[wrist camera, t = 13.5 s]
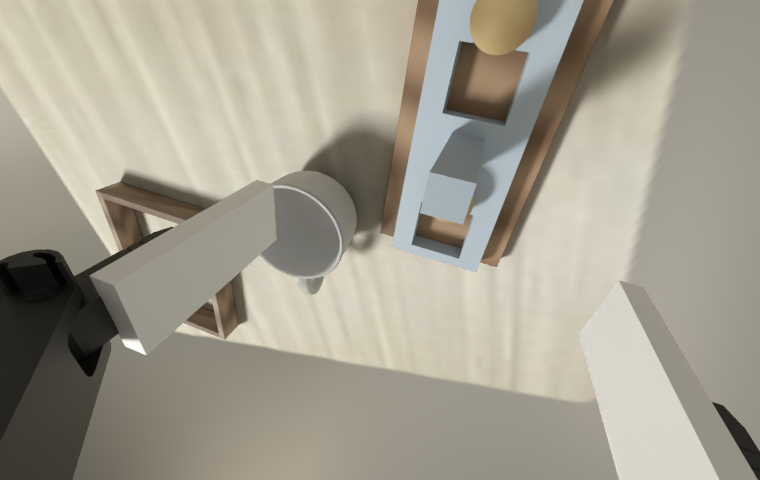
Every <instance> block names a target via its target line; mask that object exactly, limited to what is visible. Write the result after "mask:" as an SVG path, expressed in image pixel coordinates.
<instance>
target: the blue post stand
mask: <svg viewBox="0 0 760 480" xmlns="http://www.w3.org/2000/svg"><path fill="white" fill-rule="evenodd" d="M583 1H584V0H537V3H538V14H537V19H536V23H535V25H534V28H533V30H532V32H531V34H530V35H529V37H528V38H527V39H526V40H525V42H524V43H523V44H522V45H520V46H519V47H518V48H517V49H515V50H517V51H523V52H529V53H528V56H527V59H526V61H525V64H524V67H523V70H522V73H521V76H520V79H519V82H518V85H517V88H516V91H515V93H514V96H513V99H512V102H511V105H510V108H509V111H508V114H507V117H506V120H505V122H503V121H499V120H494V119H489V118H484V117H479V116H475V115H470V114H465V113H460V112H455V111H451V110H446V106H447V102H448V98H449V94H450V89H451V85H452V81H453V77H454V73H455V69H456V64H457V60H458V56H459V52H460V48H461V43H462V42H468V43H474V41H473V39H472V36H471V33H470V16H471V12H472V9H473V6H474V4H475V2H476V0H439V4H438V9H437V14H436V20H435V25H434V30H433V35H432V40H431V45H430V51H429V56H428V61H427V66H426V71H425V77H424V82H423V87H422V92H421V97H420V102H419V108H418V113H417V118H416V123H415V128H414V134H413V139H412V144H411V149H410V154H409V159H408V165H407V170H406V175H405V180H404V185H403V190H402V196H401V201H400V206H399V211H398V216H397V222H396V227H395V232H394V237H393V242H392V247H394V248H397V249H400V250H404V251H407V252H410V253H413V254H417V255H420V256H423V257H427V258H430V259H433V260H437V261H440V262H443V263H447V264H450V265H453V266H457V267H460V268H463V269H466V270H470V271H473V272H476V271H477V269H478V266H479V264H480V261H481V259H482V256H483V254H484V251H485V248H486V246H487V243H488V241H489V238H490V236H491V233H492V231H493V228H494V226H495V223H496V221H497V218H498V216H499V213H500V211H501V208H502V206H503V203H504V200H505V198H506V195H507V193H508V190H509V188H510V185H511V183H512V180H513V178H514V175H515V173H516V170H517V168H518V165H519V163H520V160H521V158H522V155H523V152H524V150H525V147H526V145H527V142H528V140H529V137H530V135H531V132H532V130H533V127H534V125H535V122H536V120H537V117H538V115H539V112H540V110H541V107H542V105H543V102H544V99H545V97H546V94H547V92H548V89H549V87H550V84H551V82H552V79H553V77H554V74H555V72H556V69H557V67H558V64H559V62H560V59H561V57H562V54H563V51H564V49H565V46H566V44H567V41H568V39H569V36H570V34H571V31H572V29H573V26H574V24H575V21H576V19H577V16H578V14H579V11H580V9H581V6H582V4H583ZM474 44H475V43H474ZM473 193H474V205H473V209H472V211H471V213H470V215H473V216H472V219H471V221H470V224H469V227H468V230H467V233H466V236H465V239H464V242H463V245H462V248H458V247H454V246H451V245H447V244H444V243H440V242H437V241H434V240H430V239H427V238H423V237H420V236H416V232H417V228H418V223H419V219H420V215H421V214H425V215H429V216H432V217H436V218H440V219H443V220H447V221H451V222H454V223H458V224H461V225H463V224H464V220H465V217H466V214H467V211H468V208H469V205H470V202H471V199H472V196H473Z"/></svg>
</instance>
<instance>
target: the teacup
mask: <svg viewBox="0 0 760 480" xmlns="http://www.w3.org/2000/svg"><path fill="white" fill-rule="evenodd" d="M271 184H273V190H274V206H275V222H276V237H277V240H276V241H274V242H273V243H272V244H271V245H270V246H269V247H268V248H267V249H265V250H264V251H263V252H262V253H261V254H260V255H259V256H260V257H261V258H262V259H263V260H264V261H265V262H267V263H268V264H269V265H270V266H272V267H273V268H275V269H276V270H278V271H280V272H282V273H284V274H287V275H290V276H292V277H296V278H298V288H299V290H300V292H301V293H303V294H306V295H313V294H315V293H317V292H318V290H319V289H320V287H321V285H322V282H323V278H324V275H326V274H328V273H330V272H331V271H332V270H334V269H335V267H336V266H337V265H338V263H339V262H340V260H341V257H342V255H343V254H344V252H345V251H346V249H347V247H348V246H349V244H350V242H351V240H352V238H353V236H354V233H355V230H356V225H357V214H356V209H355V206H354V203H353V201H352V199H351V197H350V195H349V193H348V192H347V191H346V190H345V188H344V187H343V186H342V185H341V184H340V183H338V182H337V181H336V180H334V179H333V178H331V177H330V176H327V175H325V174H323V173H320V172H315V171H298V172H294V173H291V174H288V175H286V176H284V177H282V178H280V179H278V180H277V181H275V182H273V183H271Z"/></svg>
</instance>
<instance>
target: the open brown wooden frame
mask: <svg viewBox="0 0 760 480" xmlns="http://www.w3.org/2000/svg"><path fill="white" fill-rule="evenodd" d="M96 193H97V196H98V198H99V201H100V203H101V206H102V208H103V211H104V213H105V216H106V219H107V221H108V224H109V226H110V229H111V231H112V234H113V236H114V239H115V241H116V244H117V246H118V249H119V251H121V250H123V249H124V250H126V249H127V247H129V246H130V245H132V244H134V243H138V242H139V240H141V239H143V236H142V233H141V230H140V227H139V224H138V221H137V218H136V216H135V213H134V210H133V209H136V210H139V211H142V212H145V213H148V214H151V215H154V216H157V217H160V218H163V219H166V220H169V221H172V222H175V223H178V224H181V223H182V222H184V221H186V220H188V219H189V218H191V217H193V216H195V215H196V214H198V213H200V212H202V211H203V210H205V209H203V208H200V207H197V206H194V205H190V204H187V203H184V202H181V201H178V200H175V199H171V198H168V197H165V196H162V195H159V194H155V193H152V192H149V191H146V190H143V189H140V188H136V187H133V186H130V185H127V184H124V183H121V182H119V183H116V184H113V185H110V186H107V187H105V188H102V189H99V190H96ZM211 299H212V304H213V309H214V312H213V311H210V310H208V309H205V308H203V307H200V308H199V309H198V310H197V311H196V312H195V313H194V314H192V315H191V316H190V317H189V318H188V319H187V320H186V321H185V322H183V323H185V324H188V325H190V326H193V327H195V328H198V329H200V330H203V331H205V332H208V333H210V334H213V335H215V336H218V337H220V338H223V339H226V338H227V336H228V335H229V334H230V333H231V332H232V331H233V330H234V329H235V328H236V327H237V326H238V319H237V312H236V306H235V300H234V294H233V288H232V282H231V281H229V282H228V283H227V284H226V285H225V286H224V287H223V288H222V289H220V290H219V291H218V292H217V293H216V294H215V295H214V296H213V297H211Z"/></svg>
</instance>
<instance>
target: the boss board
mask: <svg viewBox="0 0 760 480" xmlns="http://www.w3.org/2000/svg"><path fill="white" fill-rule="evenodd" d="M612 3H613V0H584V1H583V4H582V6H581V9H580V11H579V14H578V16H577V19H576V21H575V24H574V26H573V29H572V31H571V34H570V36H569V39H568V41H567V44H566V46H565V49H564V51H563V54H562V57H561V59H560V62H559V64H558V67H557V69H556V72H555V74H554V77H553V79H552V82H551V84H550V87H549V89H548V92H547V94H546V97H545V99H544V102H543V105H542V107H541V110H540V112H539V115H538V117H537V120H536V122H535V125H534V127H533V130H532V132H531V135H530V137H529V140H528V142H527V145H526V147H525V150H524V152H523V155H522V158H521V160H520V163H519V165H518V168H517V170H516V173H515V175H514V178H513V180H512V183H511V185H510V188H509V190H508V193H507V195H506V198H505V200H504V203H503V206H502V208H501V211H500V213H499V216H498V218H497V221H496V223H495V226H494V228H493V231H492V233H491V236H490V238H489V241H488V243H487V246H486V248H485V251H484V254H483V256H482V259H481V261H480V262H481V263H484V264H488V265H491V266H495V267H497V265H498V263H499V261H500V259H501V256H502V254H503V252H504V249H505V247H506V245H507V243H508V240H509V238H510V236H511V233H512V231H513V229H514V227H515V224H516V222H517V220H518V217H519V215H520V213H521V211H522V208H523V206H524V204H525V201H526V199H527V197H528V195H529V192H530V190H531V188H532V185H533V183H534V181H535V179H536V176H537V174H538V172H539V169H540V167H541V165H542V163H543V160H544V158H545V156H546V153H547V151H548V149H549V147H550V144H551V142H552V140H553V138H554V135H555V133H556V131H557V128H558V126H559V124H560V122H561V119H562V117H563V115H564V112H565V110H566V108H567V106H568V103H569V101H570V99H571V96H572V94H573V92H574V90H575V87H576V85H577V83H578V80H579V78H580V76H581V74H582V71H583V69H584V67H585V64H586V62H587V60H588V58H589V55H590V53H591V51H592V48H593V46H594V44H595V42H596V39H597V37H598V35H599V32H600V30H601V28H602V26H603V23H604V21H605V19H606V16H607V14H608V12H609V10H610V7H611V5H612ZM438 4H439V0H418V5H417V11H416V17H415V23H414V29H413V35H412V41H411V47H410V54H409V60H408V66H407V72H406V78H405V84H404V90H403V96H402V102H401V109H400V115H399V121H398V127H397V133H396V139H395V145H394V151H393V157H392V164H391V170H390V176H389V182H388V188H387V194H386V200H385V206H384V212H383V219H382V225H381V231H380V233H383V234H386V235H390V236H393V237H394V232H395V227H396V222H397V216H398V211H399V206H400V201H401V196H402V190H403V185H404V180H405V175H406V170H407V165H408V159H409V154H410V149H411V144H412V139H413V134H414V128H415V123H416V118H417V113H418V108H419V102H420V97H421V92H422V87H423V82H424V77H425V71H426V66H427V61H428V56H429V51H430V45H431V40H432V35H433V30H434V25H435V20H436V14H437V9H438ZM537 14H538V3H537V0H476V2H475V4H474V6H473V9H472V12H471V16H470V33H471V36H472V39H473V41H474V43H475V44H474V43H468V42H462V43H461V48H460V52H459V56H458V60H457V64H456V69H455V73H454V77H453V81H452V85H451V89H450V94H449V98H448V102H447V106H446V110H451V111H455V112H460V113H465V114H470V115H475V116H479V117H484V118H489V119H494V120H499V121H503V122H505V120H506V117H507V114H508V111H509V108H510V105H511V102H512V99H513V96H514V93H515V91H516V88H517V85H518V82H519V79H520V76H521V73H522V70H523V67H524V64H525V61H526V59H527V56H528V53H529V52H523V51H517V50H515V49H517V48H518V47H519V46H520V45H522V44H523V43H524V42H525V40H526V39H527V38H528V37H529V35H530V34H531V32H532V30H533V28H534V25H535V23H536V19H537ZM473 205H474V193H473V196H472V199H471V202H470V205H469V208H468V211H467V214H466V217H465V220H464V224H463V225H461V224H458V223H454V222H451V221H447V220H443V219H440V218H436V217H432V216H429V215H425V214H421V215H420V219H419V223H418V228H417V232H416V236H420V237H423V238H427V239H430V240H434V241H437V242H440V243H444V244H447V245H451V246H454V247H458V248H462V245H463V242H464V239H465V236H466V233H467V230H468V227H469V224H470V221H471V219H472V216H473V215H470V213H471V211H472V209H473Z"/></svg>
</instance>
